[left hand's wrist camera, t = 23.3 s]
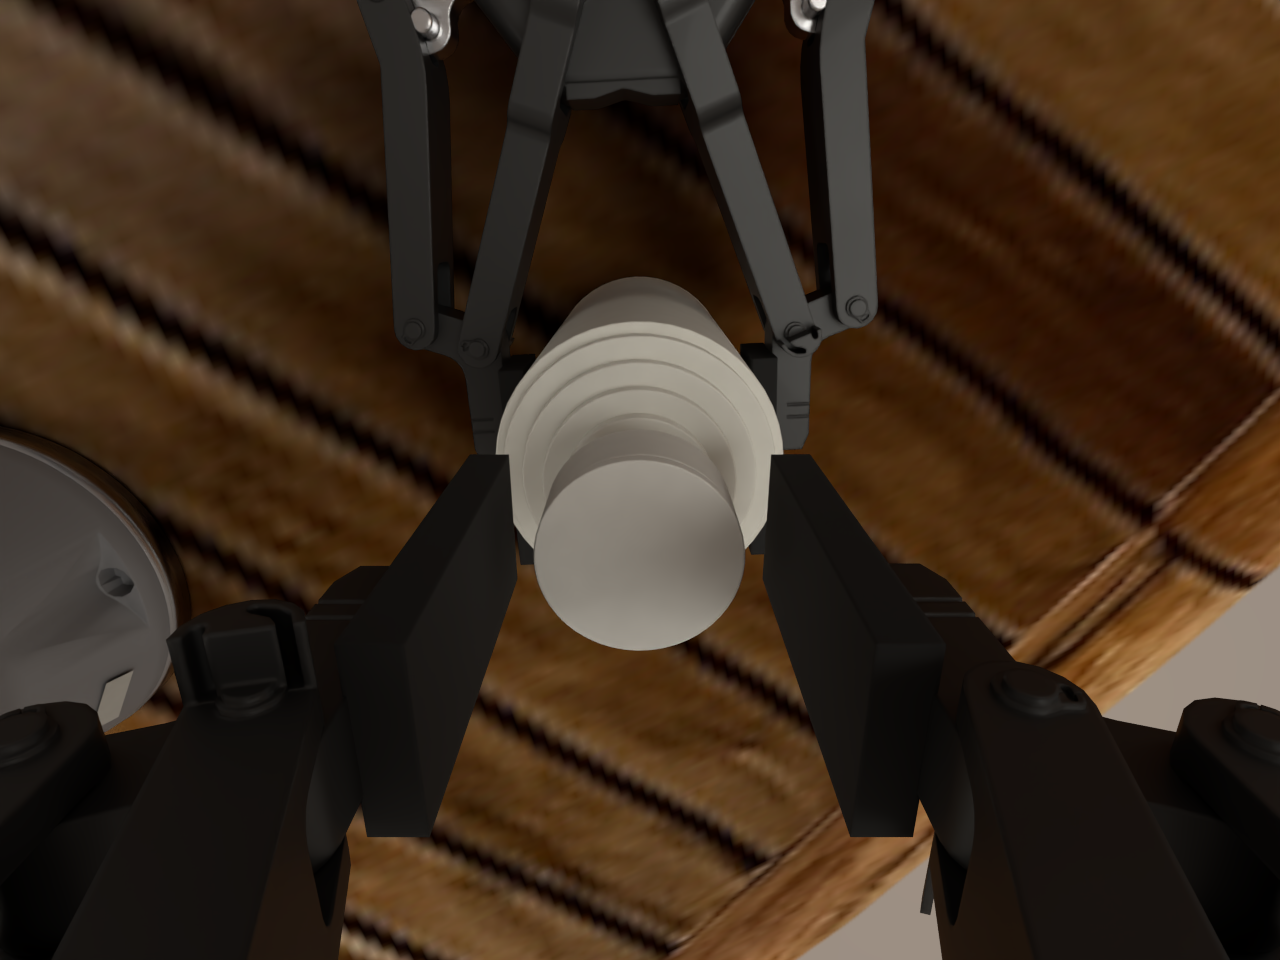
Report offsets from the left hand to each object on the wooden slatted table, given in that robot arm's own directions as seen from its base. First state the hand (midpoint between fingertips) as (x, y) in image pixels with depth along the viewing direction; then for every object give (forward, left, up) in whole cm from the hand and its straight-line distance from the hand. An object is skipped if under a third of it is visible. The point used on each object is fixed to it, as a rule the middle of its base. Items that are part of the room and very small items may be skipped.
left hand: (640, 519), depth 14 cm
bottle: (0, 0, -16) cm, 16 cm away
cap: (0, 0, +2) cm, 2 cm away
